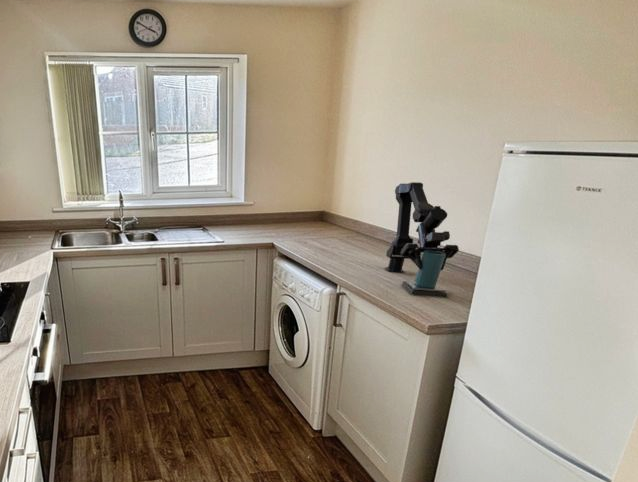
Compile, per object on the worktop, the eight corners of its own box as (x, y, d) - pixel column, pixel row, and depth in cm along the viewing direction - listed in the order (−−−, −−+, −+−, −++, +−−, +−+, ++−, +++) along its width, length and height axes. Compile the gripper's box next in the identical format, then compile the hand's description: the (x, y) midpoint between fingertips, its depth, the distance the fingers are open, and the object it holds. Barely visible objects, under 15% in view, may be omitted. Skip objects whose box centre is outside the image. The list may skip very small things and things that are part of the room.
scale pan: (405, 281, 186) (406, 280, 186) (436, 283, 183) (436, 282, 183) (413, 289, 176) (414, 288, 176) (445, 291, 174) (446, 290, 174)
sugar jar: (410, 282, 183) (419, 250, 177) (425, 281, 184) (435, 250, 178) (423, 287, 176) (434, 255, 171) (439, 287, 177) (450, 254, 172)
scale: (401, 284, 189) (402, 280, 188) (434, 286, 186) (435, 283, 185) (411, 294, 177) (412, 290, 176) (446, 297, 174) (447, 293, 173)
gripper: (410, 222, 176) (414, 257, 170) (463, 224, 172) (469, 259, 167) (398, 238, 186) (402, 272, 180) (448, 240, 183) (453, 274, 177)
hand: (431, 269), depth 176 cm, fingers closed on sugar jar, 7 cm apart
